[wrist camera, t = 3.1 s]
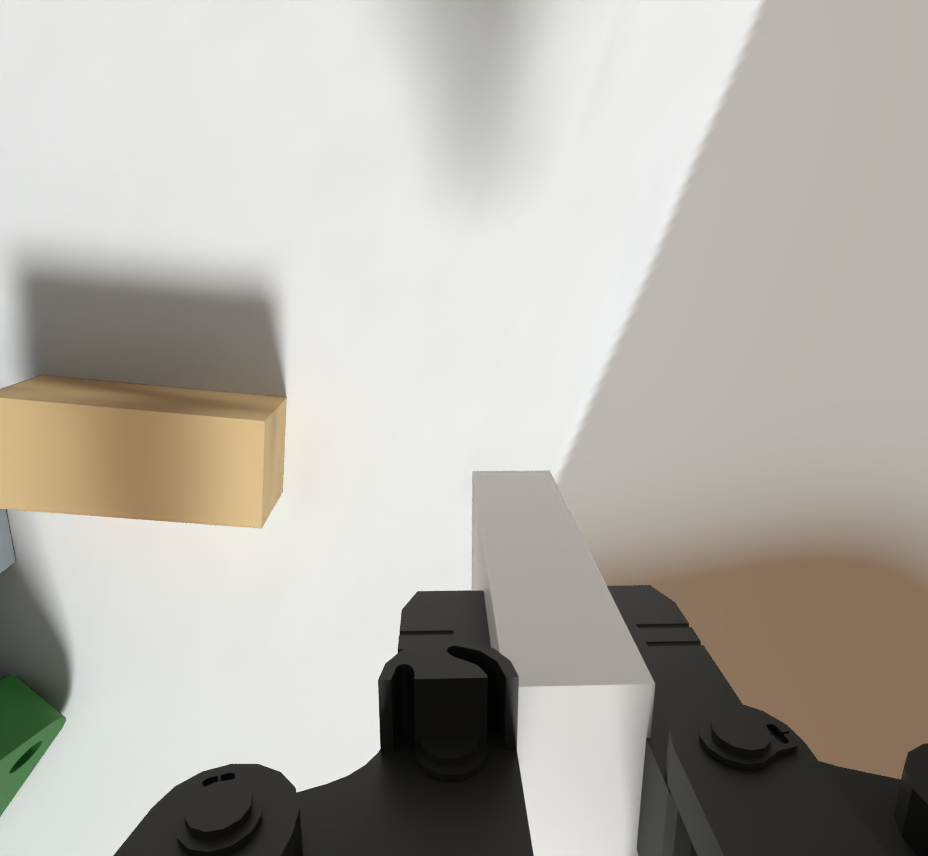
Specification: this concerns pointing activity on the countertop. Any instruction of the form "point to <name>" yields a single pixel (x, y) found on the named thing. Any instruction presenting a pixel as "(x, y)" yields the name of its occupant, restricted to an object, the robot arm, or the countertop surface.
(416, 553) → the countertop surface
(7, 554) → the block
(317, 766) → the countertop surface
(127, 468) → the tan rectangular bar
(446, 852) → the robot arm
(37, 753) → the clamp
